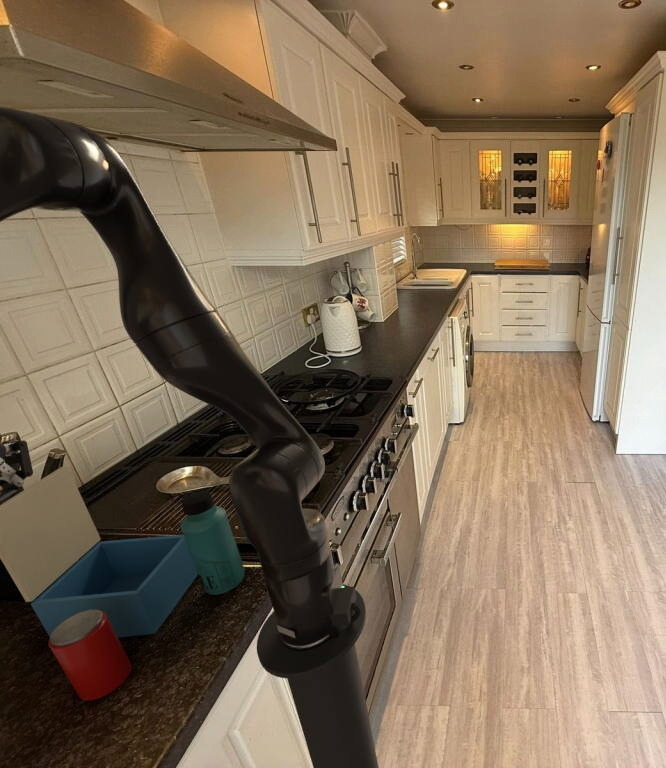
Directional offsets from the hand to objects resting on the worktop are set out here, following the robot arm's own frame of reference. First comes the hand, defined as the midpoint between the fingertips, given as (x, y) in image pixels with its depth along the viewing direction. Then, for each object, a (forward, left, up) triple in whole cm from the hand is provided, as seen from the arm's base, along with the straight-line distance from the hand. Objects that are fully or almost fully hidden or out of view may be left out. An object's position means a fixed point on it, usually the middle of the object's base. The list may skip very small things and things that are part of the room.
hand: (2, 520), depth 62 cm
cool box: (-12, 0, -19) cm, 23 cm away
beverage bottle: (-26, -2, -20) cm, 33 cm away
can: (-17, +13, -19) cm, 29 cm away
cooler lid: (-6, 0, -3) cm, 6 cm away
